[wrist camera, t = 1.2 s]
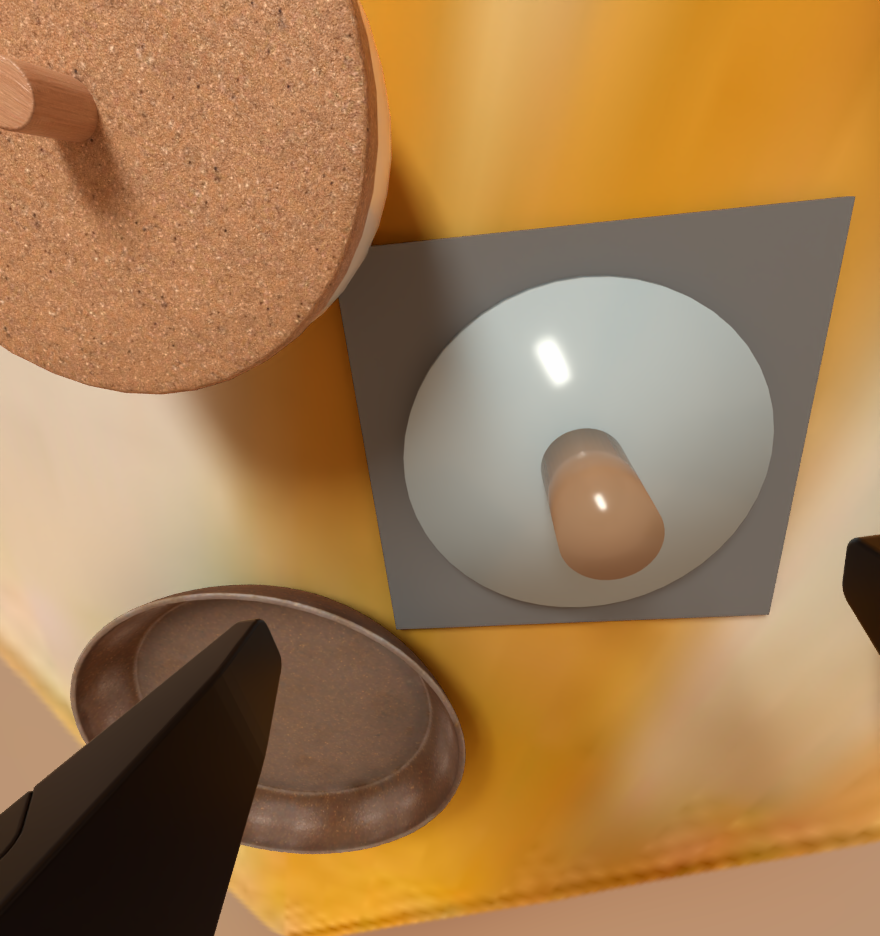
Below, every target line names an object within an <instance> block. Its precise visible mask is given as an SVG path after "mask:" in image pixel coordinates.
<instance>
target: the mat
mask: <svg viewBox="0 0 880 936" xmlns="http://www.w3.org/2000/svg"><path fill="white" fill-rule="evenodd" d="M854 200H855V197H854V196H846V197H837V198H827V199H817V200H808V201H798V202H789V203H779V204H769V205H760V206H750V207H741V208H731V209H722V210H712V211H702V212H693V213H683V214H674V215H664V216H654V217H645V218H635V219H626V220H616V221H606V222H597V223H587V224H578V225H568V226H558V227H549V228H539V229H530V230H520V231H510V232H501V233H491V234H482V235H472V236H462V237H453V238H443V239H434V240H424V241H414V242H405V243H395V244H386V245H376V246H370V248H369V251H368V253H367V255H366V257H365V259H364V261H363V262H362V264H361V265H360V267H359V268H358V270H357V272H356V273H355V275H354V276H353V278H352V279H351V281H350V283H349V284H348V285H347V287H346V288H345V290H344V291H343V292H342V293H341V294H340V296H339V297H338V298H339V304H340V309H341V315H342V321H343V327H344V332H345V338H346V344H347V349H348V355H349V361H350V367H351V372H352V378H353V384H354V389H355V395H356V401H357V407H358V412H359V418H360V424H361V429H362V435H363V441H364V447H365V452H366V458H367V464H368V469H369V475H370V481H371V486H372V492H373V498H374V504H375V509H376V515H377V521H378V526H379V532H380V538H381V544H382V549H383V555H384V561H385V566H386V572H387V578H388V584H389V589H390V595H391V601H392V606H393V612H394V618H395V624H396V629H420V628H445V627H470V626H495V625H520V624H545V623H570V622H595V621H621V620H646V619H671V618H696V617H721V616H746V615H769V612H770V607H771V602H772V597H773V593H774V588H775V583H776V578H777V573H778V568H779V563H780V559H781V554H782V549H783V544H784V539H785V534H786V530H787V525H788V520H789V515H790V510H791V505H792V501H793V496H794V491H795V486H796V481H797V476H798V471H799V467H800V462H801V457H802V452H803V447H804V442H805V438H806V433H807V428H808V423H809V418H810V413H811V409H812V404H813V399H814V394H815V389H816V384H817V379H818V375H819V370H820V365H821V360H822V355H823V350H824V346H825V341H826V336H827V331H828V326H829V321H830V317H831V312H832V307H833V302H834V297H835V292H836V287H837V283H838V278H839V273H840V268H841V263H842V258H843V254H844V249H845V244H846V239H847V234H848V229H849V225H850V220H851V215H852V210H853V205H854ZM584 275H614V276H624V277H633V278H638V279H642V280H646V281H650V282H653V283H657V284H661V285H663V286H665V287H668V288H670V289H673V290H675V291H677V292H680V293H682V294H684V295H686V296H688V297H690V298H692V299H694V300H695V301H697V302H699V303H700V304H702V305H704V306H705V307H707V308H708V309H710V310H712V311H713V312H715V313H716V314H717V315H718V316H719V317H720V318H722V319H723V320H724V321H725V322H726V323H727V324H729V325H730V326H731V327H732V328H733V329H734V330H735V331H736V333H737V334H738V335H739V336H740V337H741V339H742V340H743V341H744V342H745V343H746V344H747V346H748V347H749V349H750V350H751V352H752V354H753V356H754V357H755V359H756V361H757V362H758V364H759V366H760V368H761V370H762V373H763V376H764V378H765V381H766V383H767V386H768V389H769V394H770V398H771V403H772V408H773V422H774V437H773V446H772V455H771V459H770V463H769V467H768V471H767V475H766V477H765V480H764V482H763V485H762V487H761V490H760V492H759V495H758V497H757V499H756V500H755V502H754V504H753V506H752V507H751V509H750V511H749V513H748V514H747V516H746V517H745V519H744V520H743V521H742V523H741V524H740V525H739V527H738V528H737V530H736V531H735V532H734V534H733V535H732V536H731V537H730V538H729V539H728V540H727V541H726V542H725V543H724V544H723V545H722V546H721V547H720V548H719V549H718V550H717V551H716V552H715V553H714V554H713V555H711V556H710V557H709V558H708V559H707V560H705V561H704V562H703V563H702V564H701V565H699V566H698V567H696V568H695V569H693V570H692V571H690V572H689V573H687V574H686V575H684V576H683V577H681V578H679V579H677V580H675V581H673V582H672V583H670V584H668V585H666V586H664V587H662V588H659V589H657V590H655V591H652V592H650V593H647V594H645V595H642V596H639V597H635V598H632V599H629V600H625V601H621V602H616V603H611V604H606V605H599V606H589V607H555V606H546V605H538V604H534V603H529V602H524V601H520V600H517V599H514V598H511V597H508V596H505V595H502V594H499V593H497V592H495V591H493V590H491V589H489V588H486V587H484V586H482V585H481V584H479V583H477V582H476V581H474V580H473V579H471V578H469V577H468V576H466V575H465V574H464V573H462V572H461V571H460V570H459V569H457V568H456V567H455V566H454V565H452V564H451V563H450V562H449V561H448V560H447V559H446V558H445V557H444V556H443V555H442V554H441V553H440V552H439V551H438V550H437V548H436V547H435V546H434V544H433V543H432V542H431V540H430V539H429V538H428V536H427V535H426V533H425V532H424V530H423V528H422V526H421V524H420V522H419V521H418V519H417V517H416V515H415V512H414V509H413V507H412V504H411V501H410V499H409V494H408V490H407V485H406V481H405V472H404V459H403V457H404V443H405V434H406V430H407V425H408V420H409V416H410V412H411V409H412V406H413V403H414V400H415V397H416V395H417V392H418V389H419V387H420V385H421V383H422V381H423V379H424V377H425V375H426V374H427V372H428V370H429V368H430V366H431V365H432V363H433V362H434V361H435V359H436V358H437V356H438V355H439V354H440V352H441V351H442V349H443V348H444V347H445V346H446V345H447V344H448V342H449V341H450V340H451V339H452V338H453V337H454V336H455V335H456V334H457V333H458V332H459V331H460V330H461V329H462V328H463V327H464V326H466V325H467V324H468V323H469V322H470V321H472V320H473V319H474V318H475V317H477V316H478V315H479V314H480V313H482V312H483V311H485V310H486V309H488V308H490V307H491V306H493V305H495V304H496V303H498V302H499V301H501V300H503V299H505V298H507V297H509V296H511V295H513V294H516V293H518V292H520V291H522V290H525V289H527V288H529V287H533V286H536V285H539V284H542V283H546V282H549V281H552V280H557V279H563V278H569V277H575V276H584Z"/></svg>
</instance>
